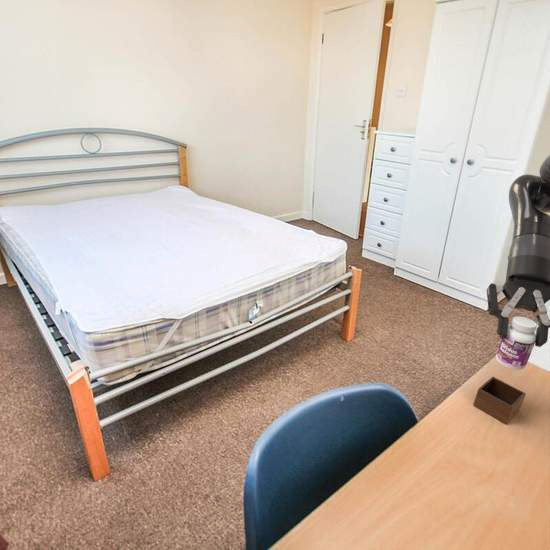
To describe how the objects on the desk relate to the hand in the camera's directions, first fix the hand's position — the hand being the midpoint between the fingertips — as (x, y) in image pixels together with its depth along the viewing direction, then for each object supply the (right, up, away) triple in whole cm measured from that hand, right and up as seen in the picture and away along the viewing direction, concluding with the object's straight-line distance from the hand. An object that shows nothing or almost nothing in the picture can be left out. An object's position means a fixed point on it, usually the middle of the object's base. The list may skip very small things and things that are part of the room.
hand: (521, 341), depth 72 cm
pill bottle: (0, -5, +4) cm, 7 cm away
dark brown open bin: (+1, -16, +10) cm, 19 cm away
